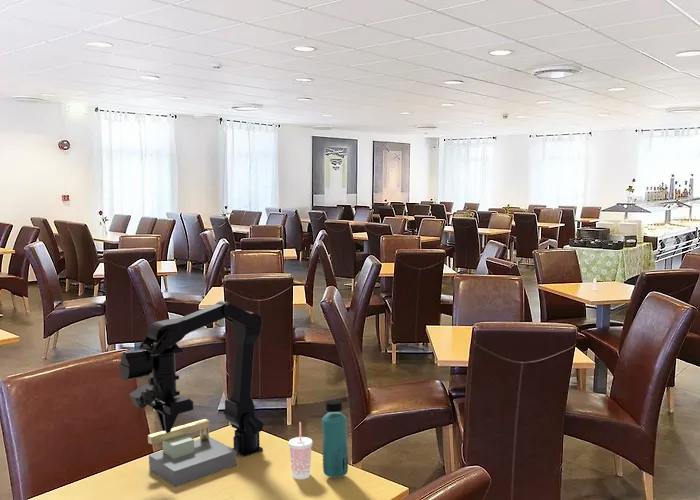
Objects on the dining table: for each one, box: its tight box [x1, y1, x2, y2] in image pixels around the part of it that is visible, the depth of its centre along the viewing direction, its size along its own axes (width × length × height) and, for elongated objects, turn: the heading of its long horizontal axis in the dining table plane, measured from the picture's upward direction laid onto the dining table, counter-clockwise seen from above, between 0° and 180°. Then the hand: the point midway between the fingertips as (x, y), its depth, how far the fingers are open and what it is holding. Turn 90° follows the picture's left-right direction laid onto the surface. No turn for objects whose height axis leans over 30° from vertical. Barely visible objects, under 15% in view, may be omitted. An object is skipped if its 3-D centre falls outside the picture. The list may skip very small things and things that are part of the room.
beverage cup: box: [288, 421, 313, 480], centre depth 162 cm, size 6×6×14 cm
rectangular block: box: [161, 434, 195, 459], centre depth 168 cm, size 6×6×4 cm
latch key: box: [147, 418, 210, 445], centre depth 171 cm, size 17×2×6 cm, turn 133°
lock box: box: [148, 436, 237, 487], centre depth 168 cm, size 18×14×4 cm
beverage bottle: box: [321, 399, 349, 478], centre depth 160 cm, size 6×7×20 cm
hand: (166, 431), depth 162 cm, fingers closed
